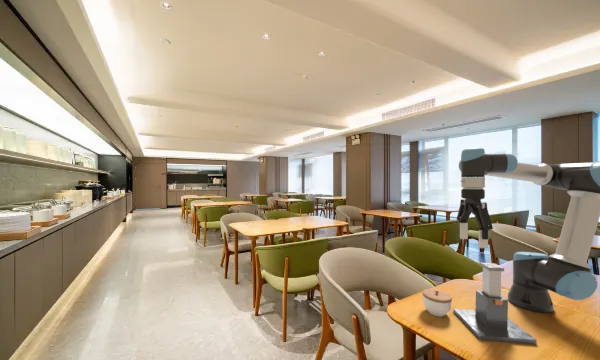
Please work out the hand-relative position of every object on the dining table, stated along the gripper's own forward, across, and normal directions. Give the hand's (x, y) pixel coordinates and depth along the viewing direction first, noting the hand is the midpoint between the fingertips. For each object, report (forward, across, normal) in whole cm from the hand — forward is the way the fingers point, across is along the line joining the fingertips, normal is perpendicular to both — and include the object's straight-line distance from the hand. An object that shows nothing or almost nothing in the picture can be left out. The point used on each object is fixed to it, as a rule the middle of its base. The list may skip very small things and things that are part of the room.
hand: (472, 243), depth 97 cm
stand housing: (+31, +2, +5) cm, 31 cm away
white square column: (+29, +2, +5) cm, 29 cm away
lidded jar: (+31, -5, -12) cm, 33 cm away
